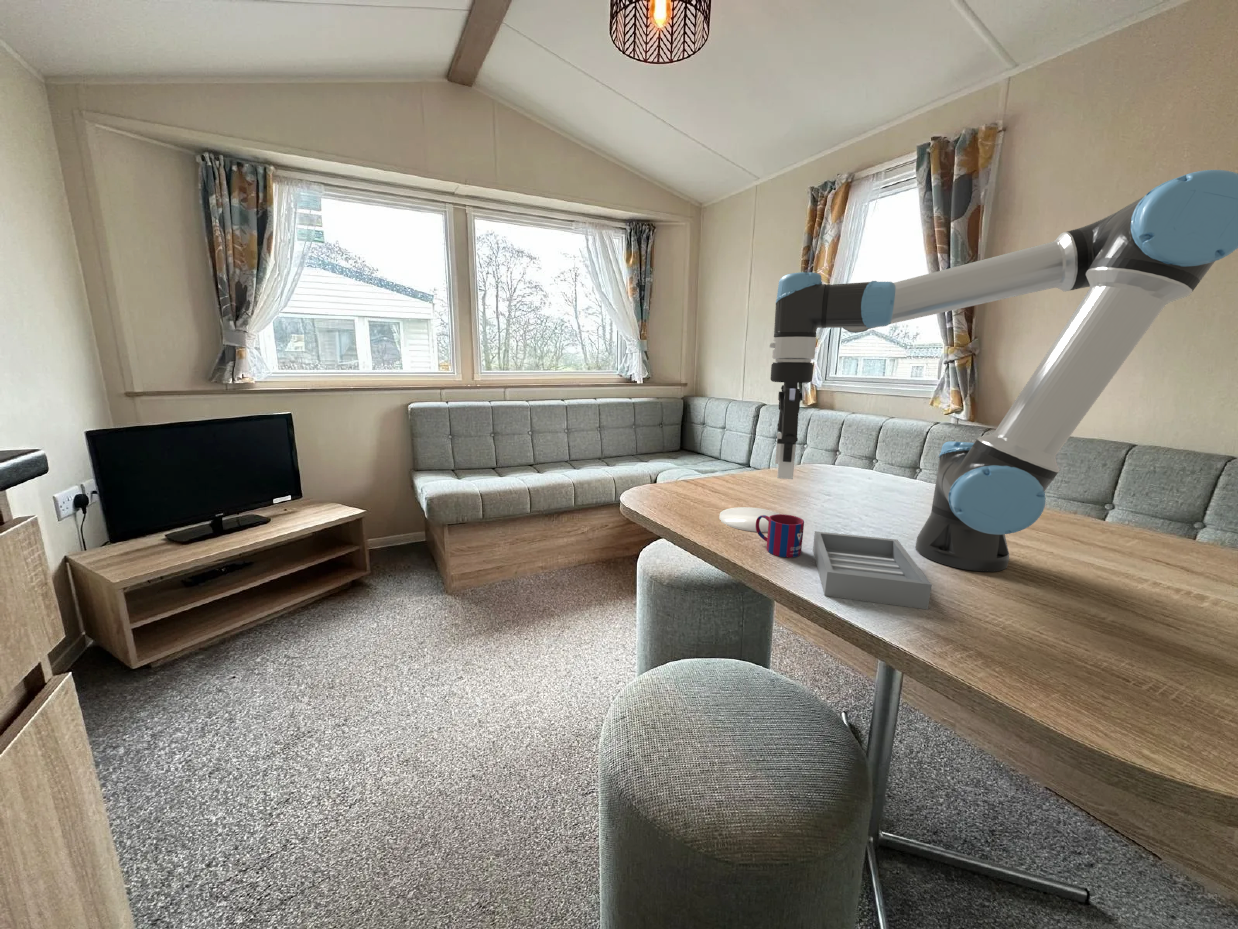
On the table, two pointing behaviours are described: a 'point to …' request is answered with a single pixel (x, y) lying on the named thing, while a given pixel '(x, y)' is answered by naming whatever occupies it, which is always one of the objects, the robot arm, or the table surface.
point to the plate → (746, 518)
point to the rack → (869, 570)
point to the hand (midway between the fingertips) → (783, 470)
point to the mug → (783, 535)
